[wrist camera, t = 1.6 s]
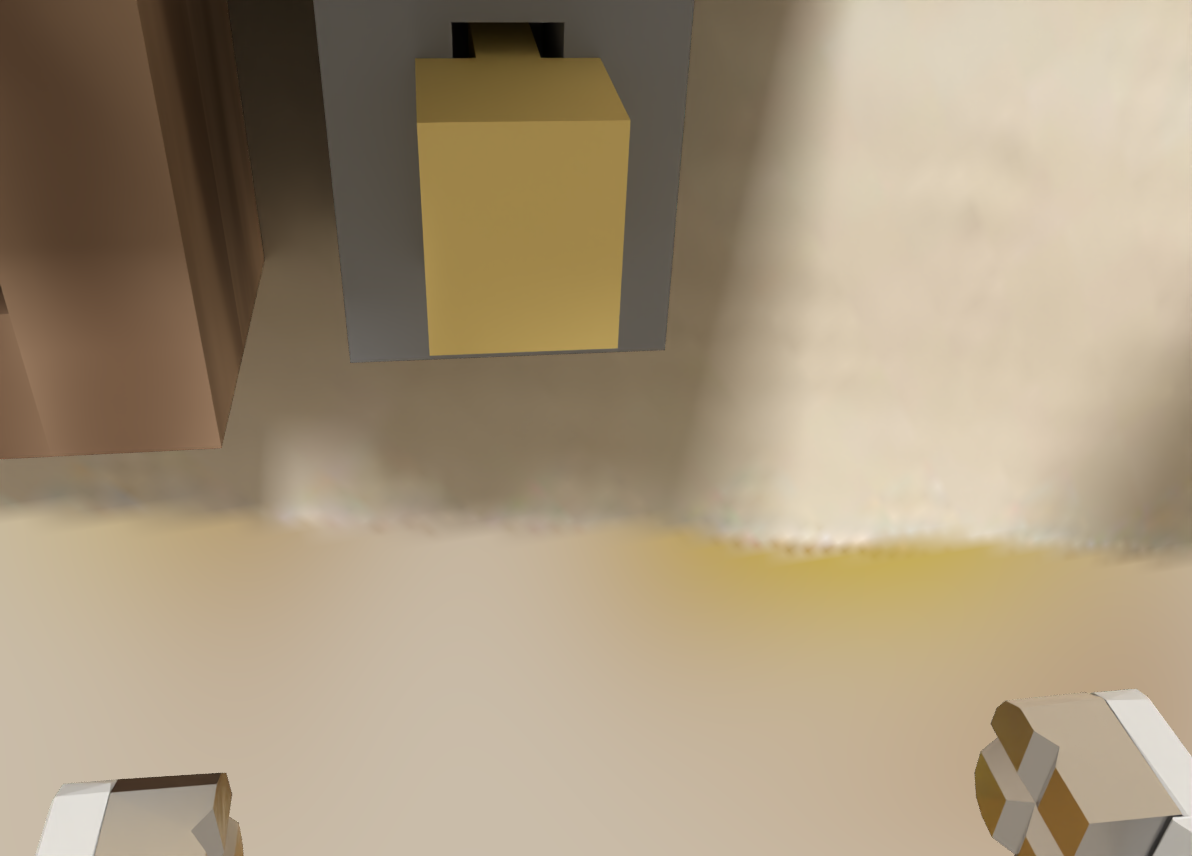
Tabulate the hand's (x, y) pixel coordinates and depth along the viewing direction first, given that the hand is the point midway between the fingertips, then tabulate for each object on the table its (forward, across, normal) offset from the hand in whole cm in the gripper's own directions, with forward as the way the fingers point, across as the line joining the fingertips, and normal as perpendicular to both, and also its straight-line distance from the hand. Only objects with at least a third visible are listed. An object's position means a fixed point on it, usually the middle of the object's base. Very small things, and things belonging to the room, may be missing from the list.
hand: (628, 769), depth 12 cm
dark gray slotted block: (+25, 0, 0) cm, 25 cm away
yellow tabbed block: (+21, 0, 0) cm, 21 cm away
